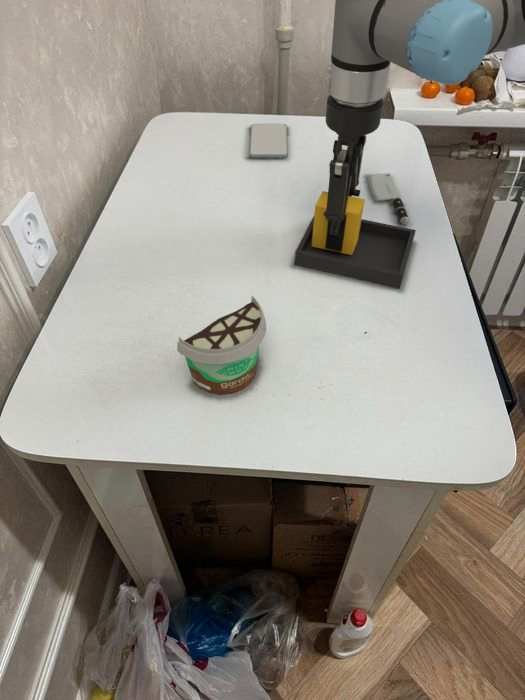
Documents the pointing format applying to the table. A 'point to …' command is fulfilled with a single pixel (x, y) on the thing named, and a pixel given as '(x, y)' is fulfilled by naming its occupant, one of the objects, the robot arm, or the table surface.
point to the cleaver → (387, 193)
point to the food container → (226, 350)
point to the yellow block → (351, 227)
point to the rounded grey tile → (268, 141)
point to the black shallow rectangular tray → (363, 254)
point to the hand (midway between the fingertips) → (337, 239)
